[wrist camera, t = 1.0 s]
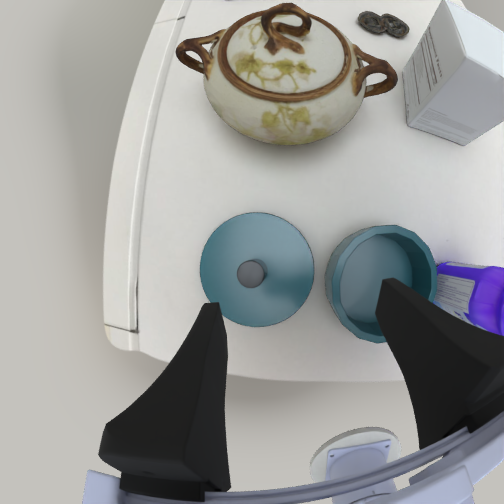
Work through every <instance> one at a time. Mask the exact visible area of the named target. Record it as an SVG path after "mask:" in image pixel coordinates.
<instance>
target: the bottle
mask: <svg viewBox="0 0 504 504" xmlns="http://www.w3.org/2000/svg"><path fill="white" fill-rule="evenodd" d="M433 304H435V305H437V306H438V307H440V308H441V309H443V310H445V311H446V312H448V313H450V314H452V315H453V316H455V317H457V318H459V319H461V320H463V321H465V322H467V323H469V324H471V325H474V326H476V327H479V328H481V329H483V330H486V331H489V332H492V333H495V334H499V335H502V336H504V268H502V267H496V266H481V265H472V264H463V263H455V262H445V263H442V264H440V265H439V266H438V267H437V292H436V295H435V298H434V301H433Z"/></svg>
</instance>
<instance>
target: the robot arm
mask: <svg viewBox="0 0 504 504" xmlns="http://www.w3.org/2000/svg"><path fill="white" fill-rule="evenodd" d="M375 315H376V318H377V321H378V323H379V326H380V329H381V331H382V333H383V335H384V337H385V339H386V341H387V343H388V345H389V347H390V349H391V351H392V353H393V355H394V357H395V359H396V361H397V363H398V365H399V367H400V369H401V371H402V373H403V376H404V379H405V382H406V385H407V388H408V391H409V394H410V398H411V402H412V405H413V409H414V414H415V419H416V423H417V431H418V438H419V448H420V450H419V451H417V452H415V453H412V454H410V455H408V456H405V457H403V458H400V459H398V460H395V461H392V462H390V463H387V462H386V461H387V458H388V454H389V450H390V446H391V440H390V439H387V440H382V441H378V442H373V443H367V444H362V445H356V446H350V447H343V448H335V449H330V450H329V451H328V457H327V468H326V477H325V481H323V482H318V483H313V484H308V485H302V486H296V487H288V488H282V489H272V490H260V491H244V492H227V491H228V490H229V489H230V488H231V483H230V474H229V465H228V455H227V444H226V430H225V429H226V428H225V410H224V409H225V389H226V375H227V361H228V348H227V334H226V330H225V325H224V321H223V317H222V313H221V308H220V304H219V302H213V303H205V304H204V305H203V306H202V308H201V310H200V312H199V315H198V317H197V319H196V321H195V323H194V324H193V326H192V328H191V330H190V332H189V334H188V335H187V337H186V339H185V341H184V342H183V344H182V345H181V347H180V348H179V350H178V352H177V353H176V355H175V356H174V358H173V359H172V360H171V362H170V363H169V365H168V366H167V367H166V369H165V370H164V371H163V372H162V374H161V375H160V376H159V377H158V378H157V379H156V380H155V382H154V383H153V384H152V385H151V386H150V387H149V388H148V389H147V390H146V391H145V392H144V393H143V394H142V395H141V396H140V397H139V398H138V399H137V400H136V401H135V402H134V403H133V404H132V405H130V406H129V407H128V408H127V409H126V410H124V411H123V412H122V413H120V414H119V415H118V416H116V417H115V418H114V419H112V420H111V421H110V422H108V423H107V424H106V426H105V429H104V431H103V435H102V440H101V444H100V449H99V454H98V455H99V457H100V458H101V459H102V460H103V461H104V462H105V463H107V464H109V465H110V466H112V467H114V468H116V469H117V470H119V471H121V472H122V473H121V478H118V477H115V476H112V475H108V474H104V473H100V472H96V471H93V470H88V471H87V477H86V482H85V488H84V495H83V501H82V504H297V503H304V502H310V501H315V500H320V499H325V498H329V497H332V502H333V504H475V503H474V500H473V497H472V492H473V491H474V488H473V485H474V484H476V483H477V482H478V481H479V480H481V479H482V478H483V477H485V476H486V475H487V474H488V473H489V472H491V471H492V470H493V469H494V468H495V467H496V466H498V465H499V464H500V463H501V462H502V461H503V460H504V336H502V335H499V334H495V333H492V332H489V331H486V330H483V329H481V328H479V327H476V326H474V325H471V324H469V323H467V322H465V321H463V320H461V319H459V318H457V317H455V316H453V315H452V314H450V313H448V312H446V311H445V310H443V309H441V308H440V307H438V306H437V305H435V304H433V303H432V302H430V301H429V300H427V299H426V298H424V297H423V296H421V295H420V294H418V293H417V292H416V291H414V290H413V289H411V288H410V287H408V286H407V285H405V284H404V283H402V282H401V281H399V280H397V279H396V278H394V277H393V278H387V279H382V283H381V288H380V293H379V298H378V302H377V306H376V311H375ZM386 445H387V446H386ZM441 456H443V457H442V459H440V460H439V461H437V462H435V463H434V464H432V465H430V466H428V467H427V468H426V469H424V470H423V471H421V472H420V473H418V474H416V475H414V476H412V477H411V478H410V479H409V483H410V486H408V487H406V488H403V489H401V490H399V491H397V489H396V486H395V484H394V481H393V478H395V477H398V476H400V475H403V474H405V473H407V472H410V471H412V470H414V469H416V468H419V467H421V466H423V465H425V464H427V463H429V462H431V461H433V460H435V459H437V458H439V457H441Z"/></svg>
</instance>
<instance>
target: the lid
mask: <svg viewBox="0 0 504 504" xmlns="http://www.w3.org/2000/svg"><path fill="white" fill-rule="evenodd" d="M200 277H201V283H202V286H203V289H204V291H205V294H206V296H207V298H208V299H209V301H210V302H211V303H213V302H219V304H220V308H221V313H222V315H223V316H225V317H226V318H228V319H229V320H231V321H233V322H236V323H238V324H241V325H245V326H251V327H265V326H270V325H274V324H277V323H280V322H282V321H284V320H286V319H287V318H289V317H290V316H292V315H293V314H294V313H295V312H296V311H297V310H298V309H299V308H300V307H301V306H302V305H303V303H304V302H305V300H306V299H307V297H308V295H309V293H310V290H311V287H312V284H313V278H314V262H313V257H312V253H311V250H310V248H309V246H308V243H307V242H306V240H305V238H304V237H303V236H302V234H301V233H300V232H299V231H298V230H297V229H296V228H295V227H294V226H293V225H291V224H290V223H289V222H287V221H286V220H284V219H282V218H280V217H277V216H275V215H271V214H267V213H246V214H242V215H239V216H236V217H233V218H231V219H229V220H228V221H226V222H224V223H223V224H222V225H221V226H219V227H218V228H217V229H216V230H215V231H214V232H213V233H212V235H211V236H210V238H209V239H208V241H207V243H206V245H205V247H204V250H203V252H202V256H201V262H200Z"/></svg>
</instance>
